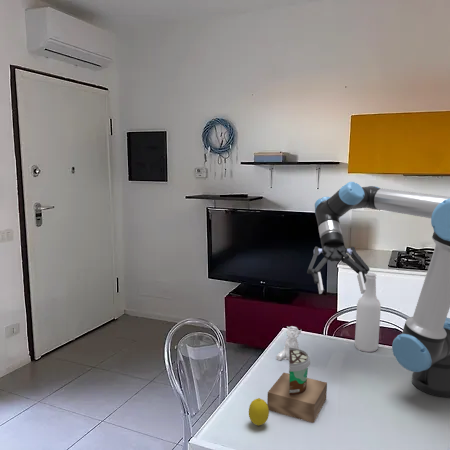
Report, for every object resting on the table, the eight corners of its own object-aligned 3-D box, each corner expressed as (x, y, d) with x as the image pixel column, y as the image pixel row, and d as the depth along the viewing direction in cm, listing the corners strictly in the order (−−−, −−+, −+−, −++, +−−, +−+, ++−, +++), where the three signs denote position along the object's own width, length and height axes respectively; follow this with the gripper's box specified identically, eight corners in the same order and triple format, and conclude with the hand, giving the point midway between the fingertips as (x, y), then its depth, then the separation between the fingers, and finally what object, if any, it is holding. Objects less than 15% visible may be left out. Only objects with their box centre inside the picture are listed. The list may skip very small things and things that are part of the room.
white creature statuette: (275, 360, 166) (276, 329, 165) (280, 351, 175) (281, 321, 173) (301, 364, 164) (302, 332, 162) (305, 354, 172) (306, 324, 170)
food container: (311, 398, 129) (311, 365, 128) (289, 397, 130) (289, 364, 129) (309, 378, 141) (309, 347, 140) (289, 377, 142) (289, 346, 141)
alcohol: (351, 343, 182) (355, 270, 178) (372, 343, 183) (376, 270, 179) (359, 353, 174) (364, 276, 169) (381, 352, 175) (387, 276, 170)
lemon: (254, 433, 122) (254, 405, 121) (245, 422, 127) (245, 395, 126) (272, 428, 125) (272, 401, 123) (262, 418, 130) (263, 391, 128)
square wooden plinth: (326, 400, 140) (327, 382, 139) (313, 424, 128) (314, 404, 127) (283, 389, 146) (283, 372, 145) (267, 411, 134) (267, 392, 133)
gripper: (363, 243, 160) (377, 297, 148) (293, 242, 159) (301, 297, 146) (370, 230, 154) (385, 286, 142) (297, 230, 153) (305, 286, 140)
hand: (342, 292), depth 144 cm, fingers open, 13 cm apart
